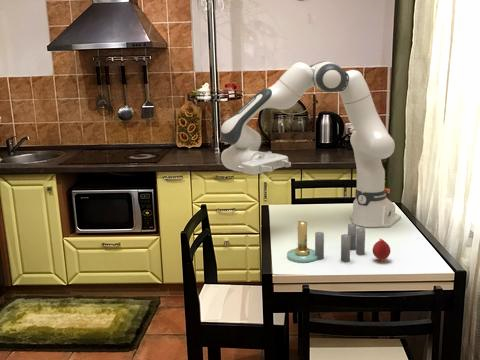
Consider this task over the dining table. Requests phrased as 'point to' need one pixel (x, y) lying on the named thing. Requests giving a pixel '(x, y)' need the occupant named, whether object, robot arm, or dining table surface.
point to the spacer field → (343, 243)
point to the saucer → (301, 257)
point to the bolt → (302, 240)
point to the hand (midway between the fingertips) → (281, 167)
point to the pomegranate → (381, 250)
